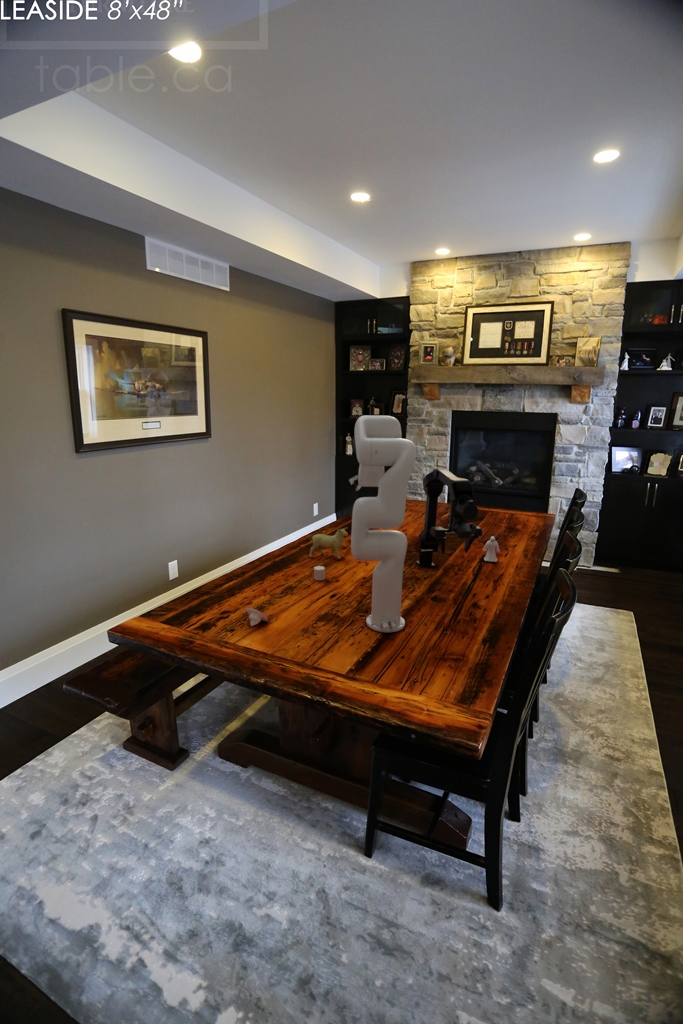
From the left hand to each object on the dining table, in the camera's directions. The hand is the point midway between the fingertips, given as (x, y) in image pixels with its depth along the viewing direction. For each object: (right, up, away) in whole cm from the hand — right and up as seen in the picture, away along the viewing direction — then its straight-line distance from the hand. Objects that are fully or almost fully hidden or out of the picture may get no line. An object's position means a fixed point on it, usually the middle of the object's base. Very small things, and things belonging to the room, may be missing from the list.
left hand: (370, 500), depth 199 cm
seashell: (-39, -41, -37) cm, 68 cm away
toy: (-17, -25, +26) cm, 40 cm away
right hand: (+31, -20, -11) cm, 39 cm away
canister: (-20, -31, +2) cm, 37 cm away
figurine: (+56, -27, +26) cm, 67 cm away
